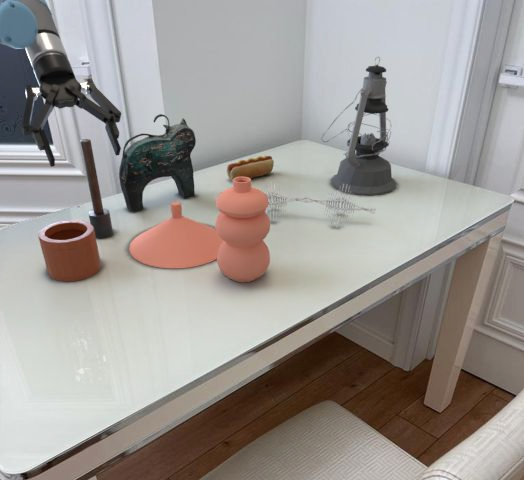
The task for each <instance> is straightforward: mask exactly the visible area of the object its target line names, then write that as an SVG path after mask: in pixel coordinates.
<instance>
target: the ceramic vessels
mask: <svg viewBox="0 0 524 480" xmlns="http://www.w3.org/2000/svg"><path fill="white" fill-rule="evenodd" d="M267 196H268V195H266V192H264V191H263V190H262V189H261V190H260V188H256V187H253V186H252V178H249V177H236V178H234V179H233V180H232V187H229V188H226V189H224V190H223V191H222V192H220V193H219V194H218V196H217V197H216V202H215V206H216V208H217V209H218V211H219V213H218V215H217V216H216V219H215V225H214V226H215V227H211V226H210V225H207V224H204V223H202V222H200V221H196V220H193V219H191V218H189V217H186V216H184V215H183V213H182V210H183V207H182V203H181V202H180V201H172V202H171V203H170V212H171V216H170V217H169V218H167V219H165V220H163V221H161V222H159V223H158V224H156V225H154V226H153V227H150V228H149V229H147V230H146V231H144V232H142V233H140V234H138V235H137V236H135V237H134V238H133V240H132V241H131V242H130V245H129V246H128V251H129V253H130V255H131V257H133V259H135V260H136V261H138V262H140V263H142V264H144V265H146V266H149V267H150V266H151V267H155V268H161V269H186V268H194V267H200V266H202V265H206V264H209V263H211V262H213V261H215V260H216V262H217V267H218V268H219V270H220V272H221V273H222V274H223V275H225V276H226V277H227V278H229V279H231V280H233V281H235V282H238V283H251V282H253V281H255V280H257V279H258V278H260V277H262V276H263V275H264V274H265V273H266V271H268V269H269V267H270V262H271V253H270V250H269V247H268V245H267V244H266V242H265V241H264V240H265V239H266V238H267V236H268V234H269V232H270V230H271V218H270V216H269V214H268V215H267V212H266V213H265V210H266V211H267V209H268V208H269V203H270V200H269V199H268V197H267Z"/></svg>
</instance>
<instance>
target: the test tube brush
mask: <svg viewBox="0 0 524 480" xmlns="http://www.w3.org/2000/svg"><path fill="white" fill-rule="evenodd" d="M272 184H273V179H270V185H268V188H267V185H266V186H265V194H266V195H267V197H268V201H269V205H268V208H269V211H267V209H266V210H265V213H266V214H267V215H268V216H269V219H271V217H272V223H273V224H274V221H275V220H277V216H278V217H280V214H278V209H281V210H280V211H282V212H284V209H285V213H286V211H287V208H284V207H286V206H288V204H287V203H291V202H292V203H293V202H303V203H318V204H322V205H324V206H325V210H324V211H325V212H326V213H328V214H326V213H324V214H323V215H324V216H325V215H326V217H327V218H329V216H330V218H329V220H331V225H333V228H335V223H336V220H338V221H337V224H336V227H339V226H340V227H341V226H342V224H344V222H347V221H348V219H350V218H351V220H352V217H351V216H353V214H354V212H355V211H365V212H368V213H370V214H374V215H375V214H376V211H377V208H372V207H371V208H370V207H369V208H366V207H363V206H360V205H358V204H356V200H355V198H351V199H350V197H355V196H356V195H355V194H351V192H350V193H346V190H345V192H344V196H342V194H343V192H342V191H343V188H342V191H340V189H339V190H338V189H336V190H334V192H333V193H331V195H330V193H328V195H330V196H328V199H314V198H311V197H309V196H303V197H299V198H296V197H295V198H294V197H290V196H286V195H282V194H280V193H281V186H279V185H278V184H279V182H278V181H277V183H276V182H274V187H273V185H272ZM276 186H277V187H276ZM272 187H273V189H272ZM278 187H279V190H278ZM340 187H341V186H340ZM343 187H344V184H343ZM346 188H347V186H346ZM349 188H350V186H349ZM267 191H268V192H267ZM276 191H278V194H277V192H276ZM335 191H336V193H335ZM340 192H341V193H340ZM348 192H349V190H348ZM337 193H338V194H337ZM346 194H347V195H346ZM339 195H340V196H339ZM334 196H335V197H334ZM345 196H346V198H345ZM332 197H334V198H332ZM348 197H349V198H348ZM329 198H330V199H329ZM276 200H277V201H276ZM352 200H353V201H352ZM354 200H355V201H354ZM274 208H275V209H274ZM282 208H283V209H282ZM327 209H328V210H329V212H328V210H327ZM272 210H273V211H272ZM326 210H327V211H326ZM330 212H331V214H330ZM271 213H272V214H273V215H272V214H271ZM277 214H278V215H277ZM347 214H351V215H347ZM271 215H272V216H271ZM338 215H339V216H338ZM346 215H347V216H346ZM334 216H335V217H334ZM337 216H338V219H337ZM334 218H335V219H334ZM340 218H343V219H341V221H340ZM346 218H348V219H346ZM345 219H346V220H345ZM333 220H334V222H333ZM343 220H345V221H343ZM339 222H340V225H339Z"/></svg>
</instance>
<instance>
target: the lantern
mask: <svg viewBox="0 0 524 480" xmlns="http://www.w3.org/2000/svg"><path fill="white" fill-rule="evenodd" d="M378 58H379V60H378V63H377V64H374V65H369V66H368V67H367V68H366V69H365V72H368V75H367V76H364V77H363V82H362V87H361V88H360V90H359V91H358V92H357V93H356V95H355V98H354V100H353V101H352V102H351V103H350V104H349V105H347V106H346V107H345V108H344V109H343V110H342V111H341V112H340V113H339V114H338V115H337V116H336V117H335V119H334V120H333V122H331V124H330V125H329V127H328V128H327V129H326V130H325V132H324V133H323V134H322V135H321V137H320V140H321V141H322V142H323V143H328V142H330V141H331V140H333V139H335V138H336V137H338V136H339V135H341V134H343V133H344V132H346V133H347V135H348V138H349V139H348V140H347V141H346V146H347V147H348V148H347V151H346V152H344V153H343V155H344V157H345V158H344V159H342V160H341V161H340V162H339V166H338V170H337V173H336V174H334V175H333V177H331V179H330V184H331V186H332V187H333V188H335V190H337V189H338V190H337V191H339V189H340V191H339V192H341V193H345V190H346V193H345V194H350V192H351V194H350V195H352V194H353V195H355V196H379V195H380V196H381V195H386V194H388V193H391V192H393V191H394V190H395V189H396V187H397V185H398V183H397V181H396V180H395V178H393V177H392V175H393V174H392V165H391V163H390V161H389V160H387V159H385V158H383V157H381V156H380V154H381V153H384V152H385V151H386V150H387V148H388V147H389V146H390V138H391V134H392V132H388V131H389V130H391V129H392V122H391V120H390V119H389V118H387V114H386V113H387V112H389V108H388V105H387V103H386V97H387V95H386V88H387V87H386V86H387V84H388V81H387V78H386V77H384V76H383V73H386V72H387V68H386V67H384V66H381V65H380V62H381V57H380V56H377V57H375V58H374V61H376V60H377V59H378ZM359 94H360V97H359V102H358V103H357V104H356V106H355V107H354V110H356V115H355V119H354V121H351V122H349V123H348V125H347V128H345V129H344V130H342V131H340V132H339V133H337V134H336V135H335V136H333V137H330V138H329V139H327V140H326V141H324V139H323V137H324V136H325V134H326V133H327V132H328V131H329V130H330V128H331V127H332V125H334V123H335V122H336V121H337V119H338V118H340V116H341V115H342V114H343V113H344V112H345V111H346V110H347V109H348V108H350V107H351V105H353V104H354V103H355V101H356V100H357V98H358V95H359ZM369 115H375V116H378V117H379V118H378V119H379V127H377V126H374V125H370V124H367V123H362V122H363V119H364V117H366V116H369ZM387 120H388V122H389V124H390V127H389V129H387ZM362 125H364V126H369V127H372V128H375V129H379V130H377V131H376V132H377V133H379V138H377V137H376V136H375V134H374V133H372V132H371V133H366V132H365V133H364V134H361V133H360V131H361V126H362ZM352 126H353V128H352V130H350V128H351V127H352ZM349 132H350V133H351V136H350V133H349ZM343 184H344V187H343ZM340 186H341V187H340ZM346 186H347V188H346ZM349 186H350V188H349ZM342 188H343V191H342ZM348 190H349V192H348Z"/></svg>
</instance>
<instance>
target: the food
mask: <svg viewBox="0 0 524 480" xmlns="http://www.w3.org/2000/svg"><path fill="white" fill-rule="evenodd" d="M274 163H275V161H274V159H273V157H272V156H271V155H264V156H262V155H260V156H257V157H255V158H254V157H251V158H247V160H246V159H240V160H238V161H236V162H234V163H230V164H227V165H226V174H227V176H228V179H229V180H232V181H233V179H234V178H236V177H249V178H250V179H255V178H257V177H262V176H265V175H269V174H270V173H272V171H273V169H274Z"/></svg>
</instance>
